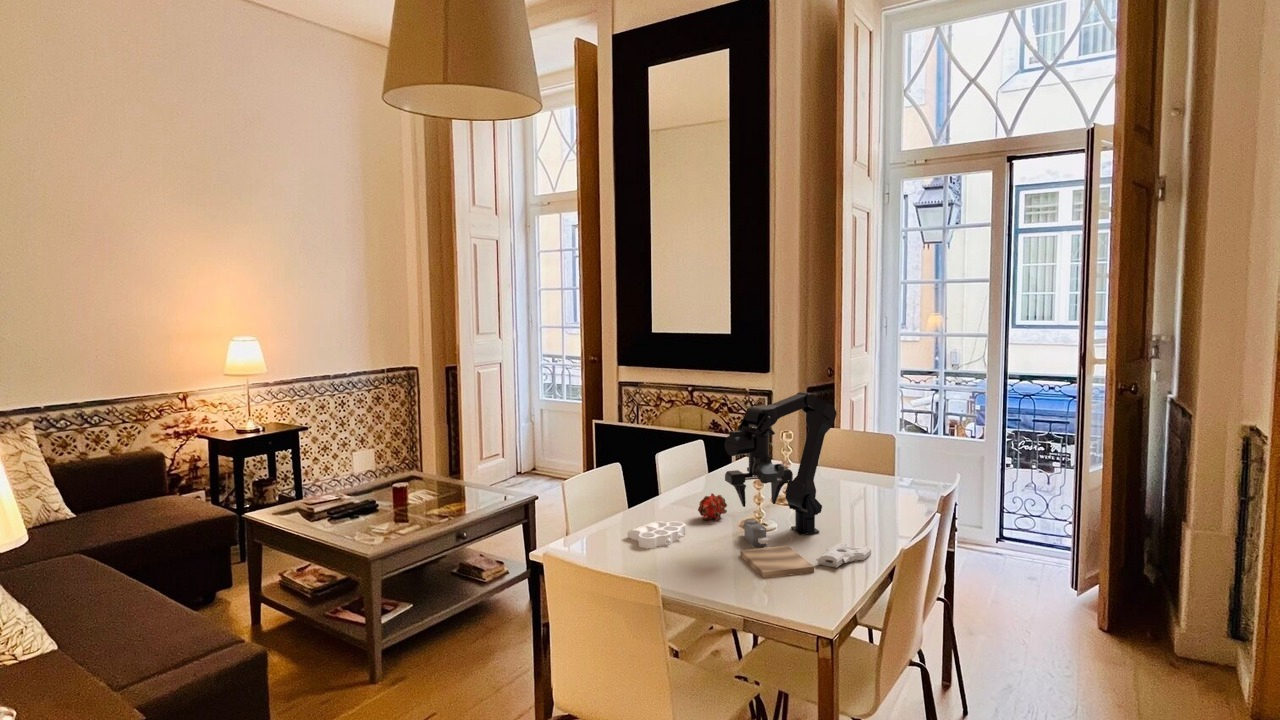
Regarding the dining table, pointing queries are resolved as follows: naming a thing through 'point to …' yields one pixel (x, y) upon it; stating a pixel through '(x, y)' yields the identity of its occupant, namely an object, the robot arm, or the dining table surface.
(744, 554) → the oak board
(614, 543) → the dining table surface
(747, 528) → the plug
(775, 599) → the dining table surface
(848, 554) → the gun
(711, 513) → the dragon fruit
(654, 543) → the white egg tray
